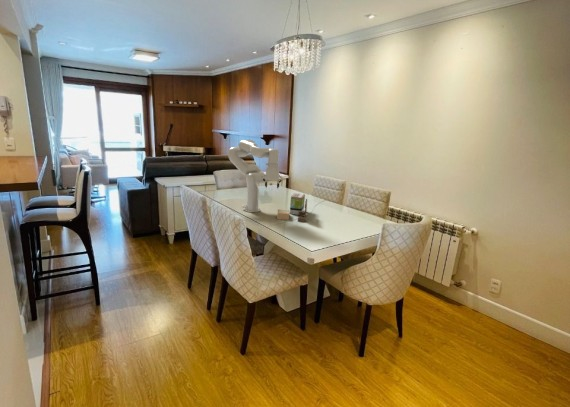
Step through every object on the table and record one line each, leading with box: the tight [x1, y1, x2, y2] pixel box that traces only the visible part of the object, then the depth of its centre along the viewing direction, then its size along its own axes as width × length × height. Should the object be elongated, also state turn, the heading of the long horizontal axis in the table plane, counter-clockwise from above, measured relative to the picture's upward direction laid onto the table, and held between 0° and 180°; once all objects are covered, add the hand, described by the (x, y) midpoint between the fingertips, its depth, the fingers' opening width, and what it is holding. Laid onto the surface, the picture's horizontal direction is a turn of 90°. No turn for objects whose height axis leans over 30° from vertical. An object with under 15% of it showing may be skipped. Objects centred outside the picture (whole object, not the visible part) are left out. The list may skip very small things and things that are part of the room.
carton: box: [276, 208, 290, 221], centre depth 242 cm, size 9×12×5 cm
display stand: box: [297, 198, 308, 223], centre depth 240 cm, size 6×19×14 cm, turn 175°
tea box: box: [289, 192, 306, 216], centre depth 257 cm, size 15×10×15 cm, turn 168°
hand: (271, 187), depth 237 cm, fingers open, 8 cm apart
